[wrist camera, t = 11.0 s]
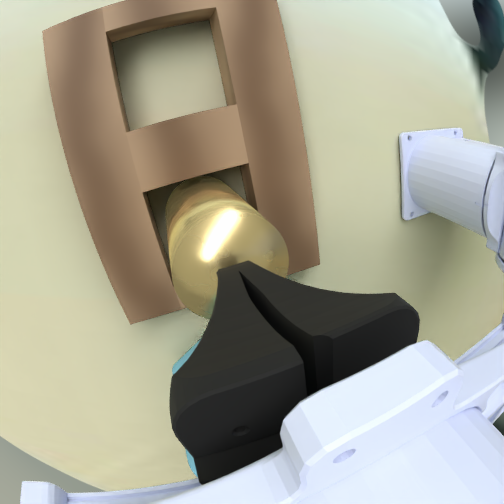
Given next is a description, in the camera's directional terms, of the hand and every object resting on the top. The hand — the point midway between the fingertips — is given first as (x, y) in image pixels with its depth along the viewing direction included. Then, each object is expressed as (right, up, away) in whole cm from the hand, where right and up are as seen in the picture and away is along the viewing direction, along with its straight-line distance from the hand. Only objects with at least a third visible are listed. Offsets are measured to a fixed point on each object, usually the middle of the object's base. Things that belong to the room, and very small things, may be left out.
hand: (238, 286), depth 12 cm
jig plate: (-4, +8, +6) cm, 11 cm away
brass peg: (-3, +4, +9) cm, 10 cm away
